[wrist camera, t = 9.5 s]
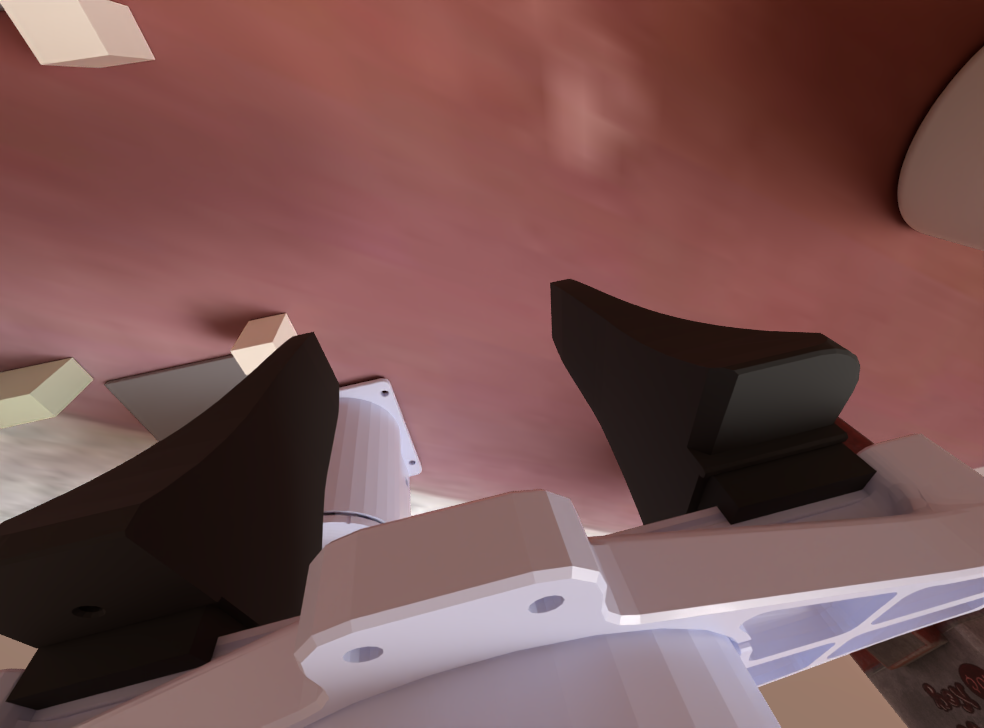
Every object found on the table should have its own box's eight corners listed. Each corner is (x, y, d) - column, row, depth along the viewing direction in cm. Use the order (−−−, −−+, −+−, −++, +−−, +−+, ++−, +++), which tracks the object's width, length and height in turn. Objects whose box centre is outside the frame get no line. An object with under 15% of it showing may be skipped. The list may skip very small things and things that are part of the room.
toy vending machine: (717, 419, 35) (1292, 1014, 13) (822, 403, 37) (1485, 895, 14) (688, 482, 40) (1056, 981, 18) (781, 465, 42) (1220, 897, 20)
